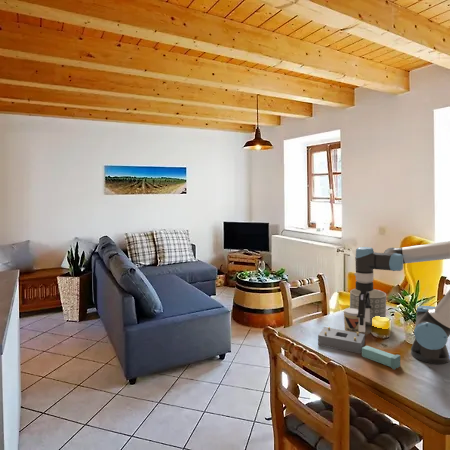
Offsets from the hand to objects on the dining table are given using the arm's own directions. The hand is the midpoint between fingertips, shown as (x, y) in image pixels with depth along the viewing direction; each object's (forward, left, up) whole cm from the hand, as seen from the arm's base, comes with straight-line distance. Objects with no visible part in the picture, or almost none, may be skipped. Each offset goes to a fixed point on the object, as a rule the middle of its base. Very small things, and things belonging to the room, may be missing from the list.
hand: (364, 326), depth 163 cm
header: (+12, -7, -14) cm, 19 cm away
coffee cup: (+10, -25, -14) cm, 30 cm away
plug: (0, 0, -12) cm, 12 cm away
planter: (+5, -42, -14) cm, 44 cm away
